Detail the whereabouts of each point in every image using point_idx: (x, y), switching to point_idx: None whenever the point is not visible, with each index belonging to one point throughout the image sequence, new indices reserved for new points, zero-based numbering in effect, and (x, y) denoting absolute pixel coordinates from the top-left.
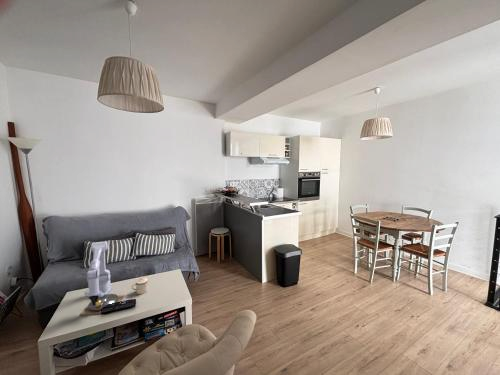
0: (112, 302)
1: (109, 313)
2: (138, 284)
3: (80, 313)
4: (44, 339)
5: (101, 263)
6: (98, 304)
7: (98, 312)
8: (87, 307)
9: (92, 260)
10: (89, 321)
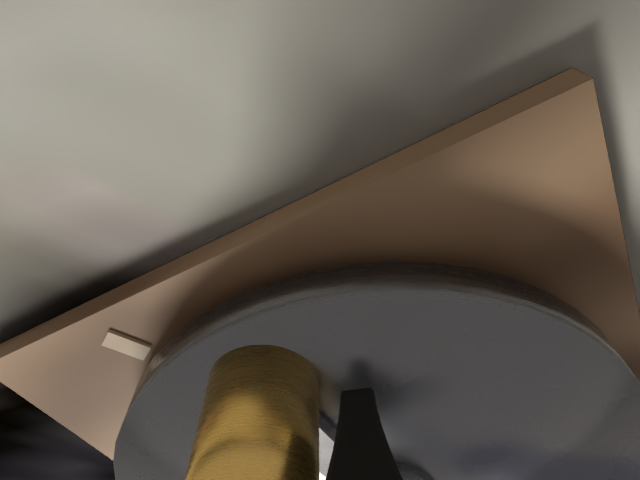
0: None
1: (8, 331)
2: None
3: (597, 108)
4: None
5: None
6: (191, 460)
7: (179, 282)
8: (613, 298)
9: None
10: (44, 11)
